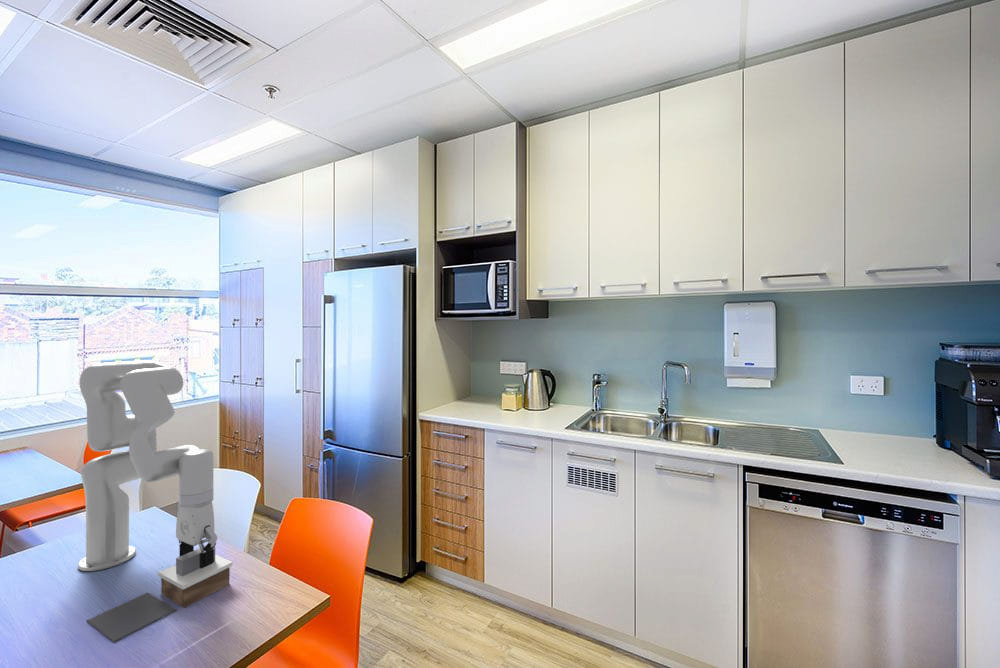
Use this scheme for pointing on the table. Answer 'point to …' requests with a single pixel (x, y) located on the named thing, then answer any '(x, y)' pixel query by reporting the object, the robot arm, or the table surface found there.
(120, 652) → the table surface
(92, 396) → the robot arm
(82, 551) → the table surface
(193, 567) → the lid
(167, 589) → the box
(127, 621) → the mat
